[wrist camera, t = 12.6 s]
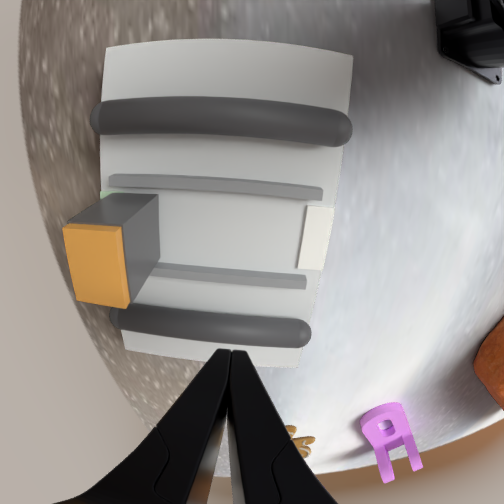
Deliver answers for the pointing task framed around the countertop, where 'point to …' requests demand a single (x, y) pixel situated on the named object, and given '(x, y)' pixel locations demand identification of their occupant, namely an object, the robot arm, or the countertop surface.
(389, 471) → the bracket
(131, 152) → the panel
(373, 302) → the countertop surface
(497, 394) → the bread
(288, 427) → the cookie
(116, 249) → the toggle
